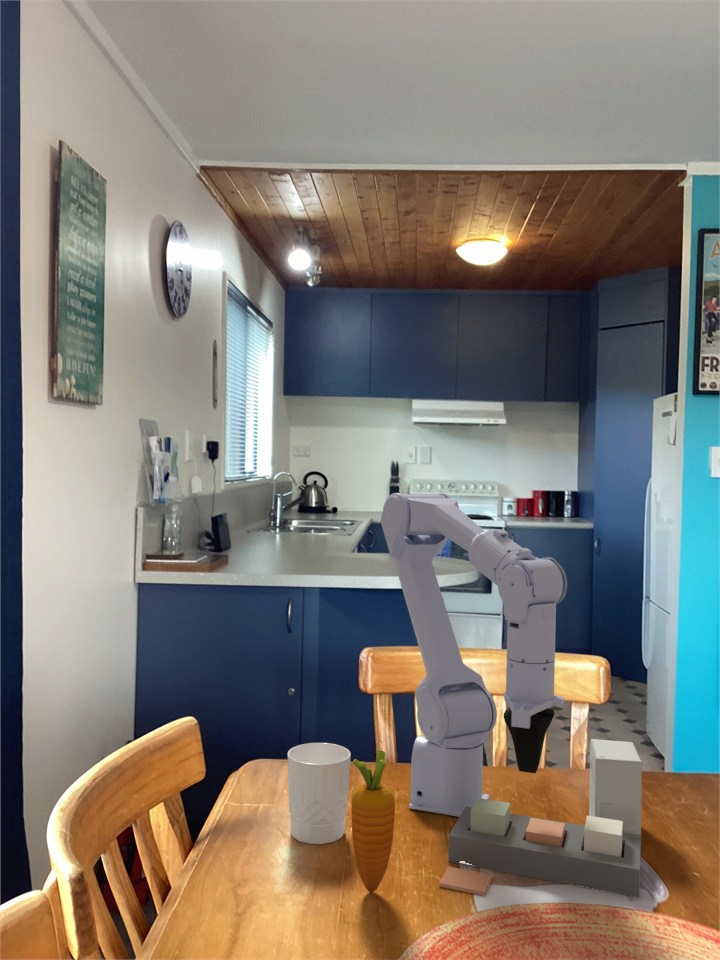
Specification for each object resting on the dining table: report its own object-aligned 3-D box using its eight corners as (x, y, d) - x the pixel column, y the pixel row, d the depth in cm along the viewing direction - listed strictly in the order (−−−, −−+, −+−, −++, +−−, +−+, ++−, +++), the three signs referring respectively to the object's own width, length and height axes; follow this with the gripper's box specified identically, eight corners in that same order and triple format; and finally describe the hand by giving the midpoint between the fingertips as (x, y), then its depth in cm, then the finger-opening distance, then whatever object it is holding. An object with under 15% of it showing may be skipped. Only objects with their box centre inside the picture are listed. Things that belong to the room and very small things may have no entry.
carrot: (359, 908, 82) (362, 763, 82) (341, 885, 87) (343, 748, 87) (402, 899, 84) (405, 757, 84) (382, 877, 89) (384, 743, 89)
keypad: (448, 861, 93) (448, 835, 93) (465, 829, 101) (465, 806, 101) (639, 897, 85) (639, 869, 85) (640, 860, 94) (640, 835, 94)
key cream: (583, 860, 90) (584, 829, 90) (586, 845, 94) (587, 815, 94) (620, 866, 88) (621, 835, 88) (622, 851, 92) (622, 821, 92)
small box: (641, 848, 97) (643, 762, 97) (593, 843, 98) (595, 758, 98) (632, 820, 105) (634, 741, 105) (588, 816, 106) (590, 737, 106)
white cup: (359, 827, 101) (360, 748, 101) (331, 852, 94) (333, 768, 94) (305, 814, 105) (306, 739, 105) (274, 838, 98) (275, 757, 98)
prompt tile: (439, 886, 87) (439, 882, 87) (448, 869, 91) (448, 866, 91) (484, 895, 85) (485, 892, 85) (492, 878, 89) (492, 874, 89)
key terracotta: (525, 861, 92) (525, 831, 92) (530, 846, 96) (530, 817, 96) (560, 867, 91) (561, 837, 91) (564, 852, 94) (564, 823, 94)
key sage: (470, 839, 94) (470, 810, 94) (477, 826, 98) (477, 797, 98) (503, 845, 93) (504, 816, 93) (509, 831, 97) (510, 803, 97)
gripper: (557, 675, 88) (555, 797, 88) (570, 649, 102) (568, 755, 102) (494, 668, 91) (491, 787, 91) (515, 644, 104) (512, 748, 104)
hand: (528, 770), depth 96 cm, fingers closed
